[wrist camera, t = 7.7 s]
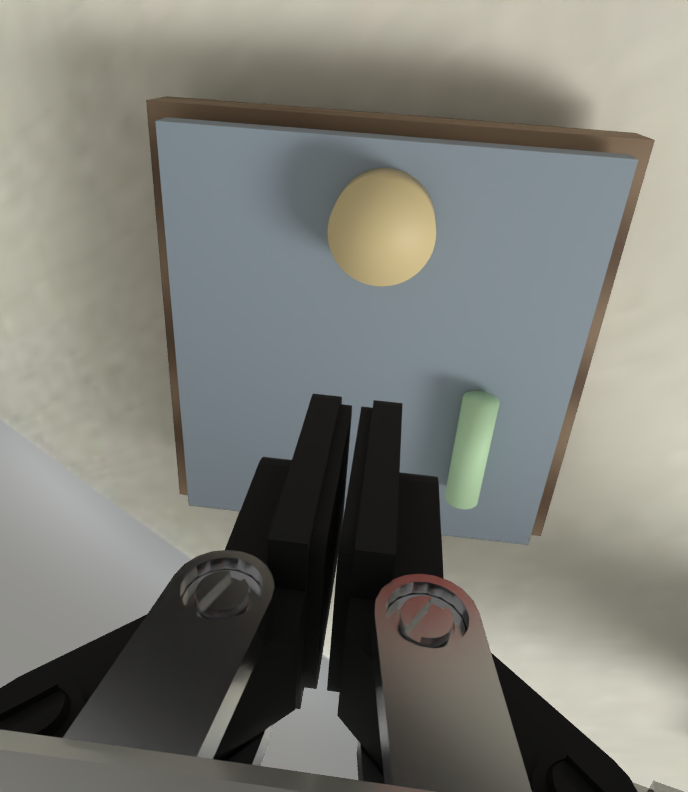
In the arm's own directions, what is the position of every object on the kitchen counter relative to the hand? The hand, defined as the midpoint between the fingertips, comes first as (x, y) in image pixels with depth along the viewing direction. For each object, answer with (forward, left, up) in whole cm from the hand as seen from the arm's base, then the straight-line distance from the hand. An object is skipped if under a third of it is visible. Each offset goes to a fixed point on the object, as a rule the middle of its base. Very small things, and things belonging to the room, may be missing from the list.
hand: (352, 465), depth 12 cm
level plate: (-5, 0, -17) cm, 18 cm away
